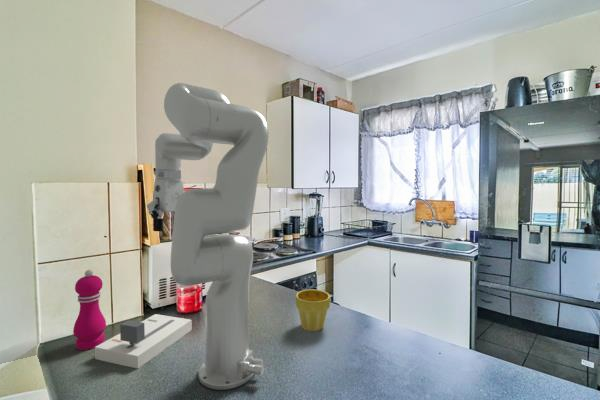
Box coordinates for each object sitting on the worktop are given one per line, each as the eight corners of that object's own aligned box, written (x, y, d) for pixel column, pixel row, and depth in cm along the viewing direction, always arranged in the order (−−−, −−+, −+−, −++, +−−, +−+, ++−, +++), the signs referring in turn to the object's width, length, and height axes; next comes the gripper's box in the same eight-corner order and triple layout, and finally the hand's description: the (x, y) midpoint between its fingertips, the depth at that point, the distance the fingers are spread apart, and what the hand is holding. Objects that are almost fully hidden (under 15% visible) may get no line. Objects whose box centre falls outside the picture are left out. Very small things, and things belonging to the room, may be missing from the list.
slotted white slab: (191, 329, 90) (191, 319, 90) (138, 368, 71) (137, 355, 71) (155, 323, 94) (155, 313, 93) (95, 359, 74) (94, 346, 74)
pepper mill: (90, 352, 77) (88, 275, 76) (66, 349, 79) (64, 273, 78) (112, 338, 84) (111, 267, 83) (90, 335, 86) (89, 265, 85)
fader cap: (144, 342, 76) (144, 322, 76) (136, 347, 73) (136, 327, 73) (128, 339, 77) (128, 320, 77) (120, 344, 75) (120, 324, 75)
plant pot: (324, 337, 86) (325, 303, 86) (290, 331, 90) (291, 298, 89) (333, 321, 96) (333, 291, 96) (301, 317, 99) (302, 287, 99)
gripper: (158, 175, 89) (159, 233, 90) (195, 177, 105) (195, 226, 106) (137, 175, 91) (138, 232, 92) (176, 177, 108) (177, 225, 108)
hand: (169, 229), depth 99 cm, fingers open, 9 cm apart
